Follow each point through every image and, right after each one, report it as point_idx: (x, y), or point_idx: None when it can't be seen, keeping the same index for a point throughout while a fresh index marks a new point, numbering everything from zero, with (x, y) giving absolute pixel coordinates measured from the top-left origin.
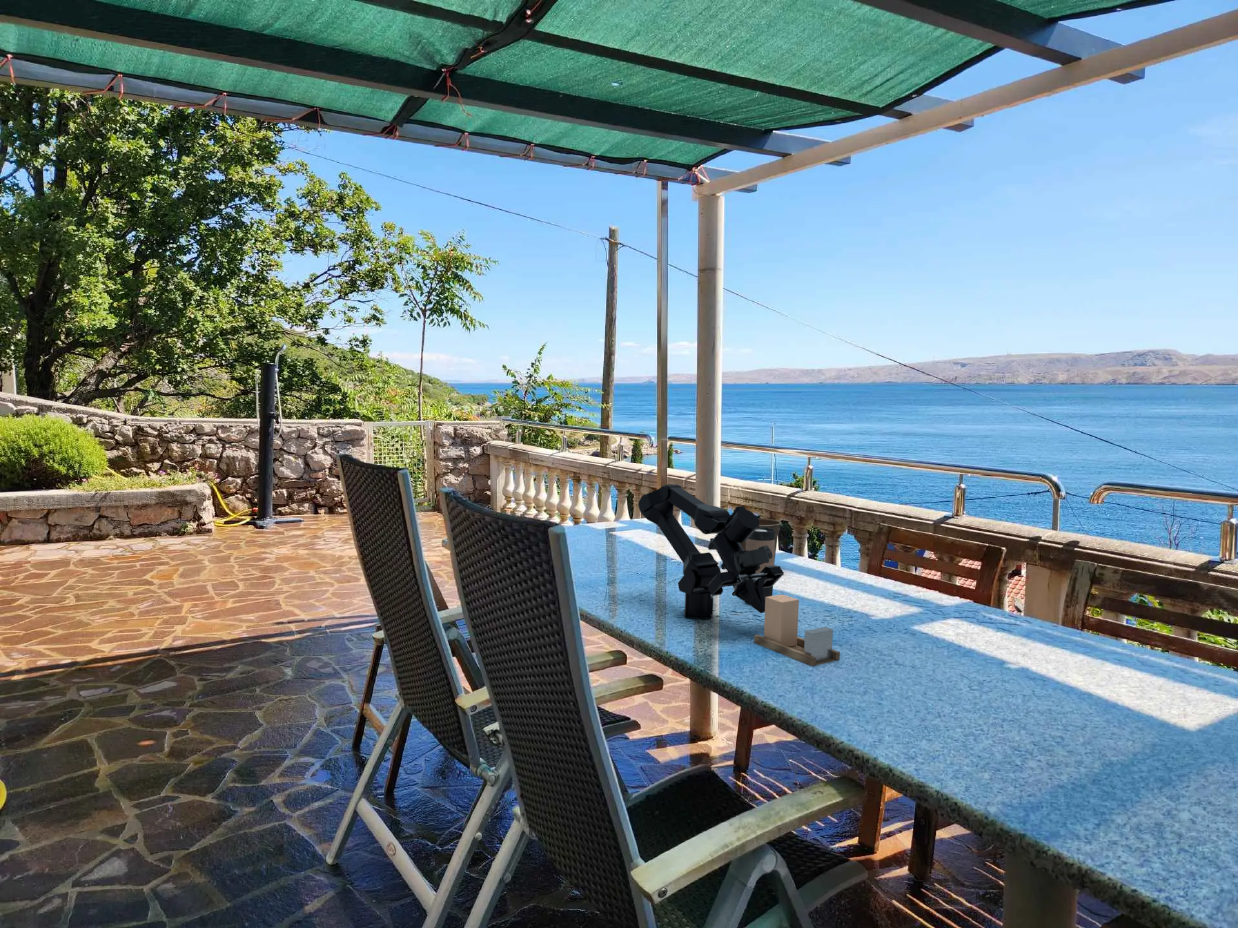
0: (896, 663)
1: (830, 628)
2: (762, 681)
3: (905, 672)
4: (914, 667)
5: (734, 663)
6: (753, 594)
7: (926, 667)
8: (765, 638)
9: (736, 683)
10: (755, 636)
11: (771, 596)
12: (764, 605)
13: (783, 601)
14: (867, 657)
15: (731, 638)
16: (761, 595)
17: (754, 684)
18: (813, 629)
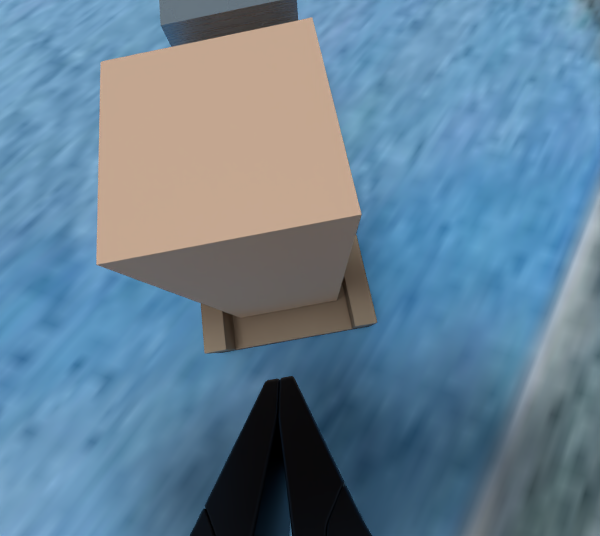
0: (57, 68)
1: (160, 3)
2: (504, 41)
3: (95, 19)
4: (44, 39)
5: (533, 180)
6: (355, 530)
7: (19, 33)
8: (349, 265)
9: (591, 44)
10: (374, 313)
11: (276, 219)
12: (257, 409)
13: (277, 40)
14: (84, 121)
15: (417, 463)
16: (231, 514)
17: (538, 29)
18: (245, 4)
